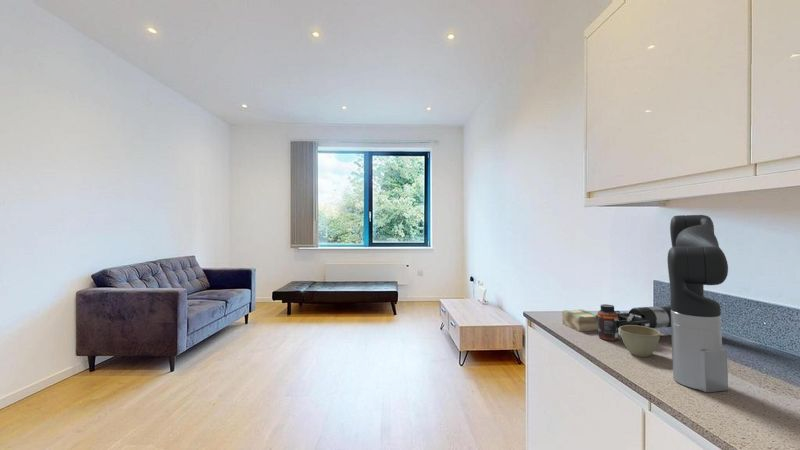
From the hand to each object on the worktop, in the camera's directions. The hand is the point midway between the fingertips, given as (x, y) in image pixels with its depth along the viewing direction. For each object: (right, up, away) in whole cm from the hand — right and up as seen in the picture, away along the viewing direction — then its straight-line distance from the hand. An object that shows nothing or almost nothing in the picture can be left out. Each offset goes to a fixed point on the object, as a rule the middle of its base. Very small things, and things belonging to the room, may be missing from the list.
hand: (605, 321), depth 115 cm
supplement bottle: (+1, -6, 0) cm, 6 cm away
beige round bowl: (+2, -6, -14) cm, 15 cm away
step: (-1, -6, +14) cm, 15 cm away
